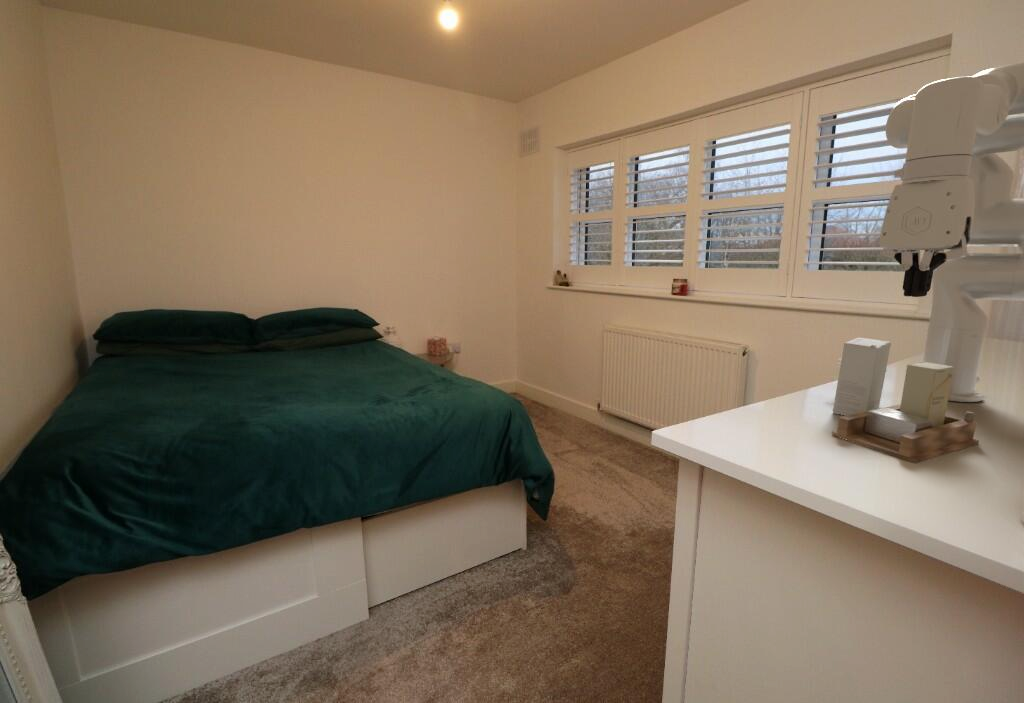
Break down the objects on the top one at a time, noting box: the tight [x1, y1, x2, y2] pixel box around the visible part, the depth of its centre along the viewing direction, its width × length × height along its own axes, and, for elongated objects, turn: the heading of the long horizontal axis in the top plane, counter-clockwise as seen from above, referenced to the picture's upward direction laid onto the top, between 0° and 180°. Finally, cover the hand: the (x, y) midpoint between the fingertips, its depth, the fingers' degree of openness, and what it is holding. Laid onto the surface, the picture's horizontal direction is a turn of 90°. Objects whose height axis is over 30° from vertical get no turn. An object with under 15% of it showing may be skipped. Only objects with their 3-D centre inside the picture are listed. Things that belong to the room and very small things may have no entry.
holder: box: [831, 403, 980, 464], centre depth 83 cm, size 19×13×5 cm, turn 115°
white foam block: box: [864, 406, 934, 443], centre depth 82 cm, size 5×7×4 cm
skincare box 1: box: [832, 337, 892, 416], centre depth 96 cm, size 8×6×15 cm
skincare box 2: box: [900, 361, 954, 428], centre depth 84 cm, size 6×4×12 cm
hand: (915, 295), depth 76 cm, fingers closed
